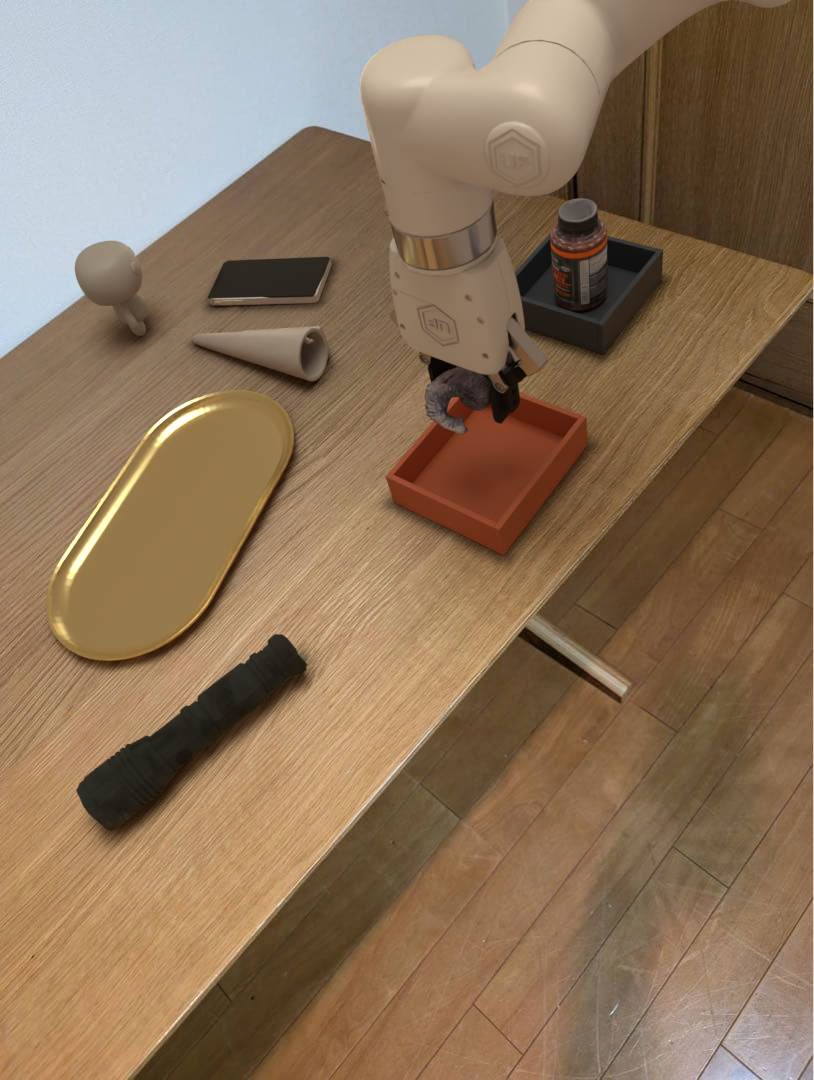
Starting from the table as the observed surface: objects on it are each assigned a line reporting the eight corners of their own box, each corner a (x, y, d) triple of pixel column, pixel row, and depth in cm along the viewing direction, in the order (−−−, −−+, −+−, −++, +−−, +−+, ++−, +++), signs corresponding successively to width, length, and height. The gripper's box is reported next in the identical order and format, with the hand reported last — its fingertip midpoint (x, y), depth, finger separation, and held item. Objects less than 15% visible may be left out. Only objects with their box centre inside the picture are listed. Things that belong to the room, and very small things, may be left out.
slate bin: (662, 280, 96) (663, 249, 93) (602, 354, 91) (602, 325, 88) (560, 252, 102) (558, 223, 99) (500, 320, 98) (496, 292, 94)
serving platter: (18, 641, 84) (9, 633, 83) (187, 390, 101) (181, 380, 100) (172, 688, 78) (164, 680, 76) (325, 410, 95) (321, 401, 94)
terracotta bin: (587, 445, 84) (586, 416, 81) (503, 555, 79) (499, 530, 76) (478, 402, 91) (473, 374, 88) (393, 502, 85) (384, 476, 82)
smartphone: (315, 297, 105) (205, 300, 109) (318, 304, 106) (209, 307, 110) (330, 255, 110) (224, 259, 113) (333, 263, 111) (228, 267, 114)
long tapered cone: (158, 346, 101) (292, 350, 92) (187, 315, 104) (318, 316, 96) (179, 385, 105) (309, 392, 96) (205, 354, 108) (334, 358, 100)
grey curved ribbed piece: (445, 450, 76) (515, 383, 79) (468, 432, 71) (541, 361, 74) (405, 406, 76) (476, 340, 79) (425, 384, 71) (500, 316, 74)
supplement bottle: (543, 296, 98) (536, 209, 89) (585, 272, 99) (582, 184, 90) (575, 322, 94) (571, 234, 85) (618, 296, 95) (619, 207, 86)
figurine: (174, 335, 108) (131, 256, 99) (119, 358, 108) (70, 281, 98) (162, 301, 113) (120, 222, 103) (109, 323, 113) (62, 246, 103)
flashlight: (95, 796, 73) (65, 776, 69) (287, 644, 78) (270, 617, 74) (120, 840, 70) (90, 821, 66) (318, 679, 75) (301, 653, 71)
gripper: (325, 230, 65) (378, 397, 79) (515, 288, 57) (536, 463, 71) (384, 176, 68) (425, 346, 82) (574, 223, 59) (582, 404, 74)
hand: (476, 399), depth 76 cm, fingers closed on grey curved ribbed piece, 5 cm apart
